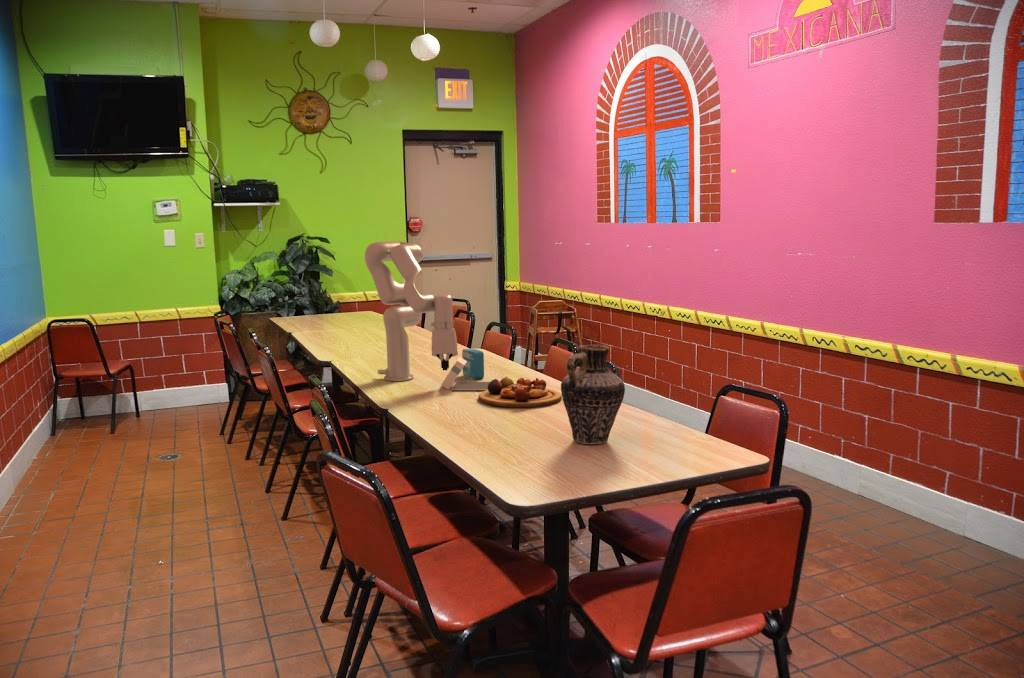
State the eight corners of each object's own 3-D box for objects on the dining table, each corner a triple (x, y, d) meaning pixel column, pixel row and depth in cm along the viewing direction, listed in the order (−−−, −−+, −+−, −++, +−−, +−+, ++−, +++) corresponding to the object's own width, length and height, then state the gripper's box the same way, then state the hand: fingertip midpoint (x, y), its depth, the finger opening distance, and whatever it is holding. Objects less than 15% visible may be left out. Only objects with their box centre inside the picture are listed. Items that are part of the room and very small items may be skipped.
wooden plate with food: (554, 411, 291) (554, 388, 290) (468, 406, 298) (468, 384, 297) (567, 394, 322) (567, 373, 321) (489, 390, 329) (489, 370, 328)
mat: (451, 391, 325) (451, 389, 324) (456, 383, 340) (456, 381, 340) (498, 391, 323) (498, 389, 323) (501, 383, 339) (501, 381, 339)
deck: (441, 384, 328) (456, 360, 326) (444, 380, 337) (459, 356, 335) (448, 389, 328) (464, 365, 326) (451, 385, 337) (467, 361, 335)
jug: (584, 429, 264) (584, 339, 260) (636, 439, 252) (637, 344, 247) (546, 444, 248) (545, 347, 244) (599, 455, 236) (600, 353, 232)
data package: (462, 375, 357) (461, 348, 355) (471, 374, 359) (471, 347, 357) (475, 380, 347) (474, 352, 345) (484, 378, 349) (483, 351, 347)
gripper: (424, 326, 326) (425, 371, 328) (460, 326, 325) (462, 371, 327) (427, 324, 333) (428, 368, 336) (463, 324, 332) (464, 368, 335)
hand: (445, 369), depth 331 cm, fingers closed
